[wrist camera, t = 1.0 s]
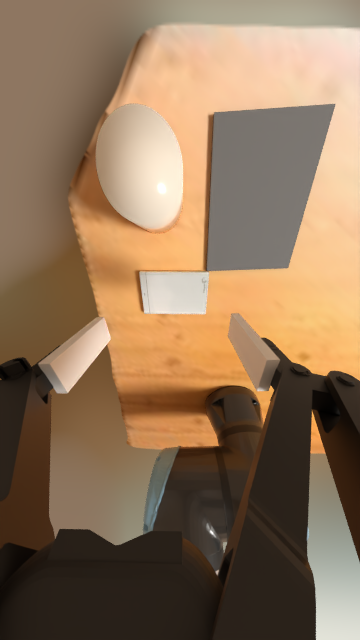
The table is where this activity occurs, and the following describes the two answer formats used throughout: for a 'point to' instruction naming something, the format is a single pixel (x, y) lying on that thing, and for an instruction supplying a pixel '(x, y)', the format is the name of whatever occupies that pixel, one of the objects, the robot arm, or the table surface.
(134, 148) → the cream rounded cylinder
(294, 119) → the mat
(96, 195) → the table surface
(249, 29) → the table surface
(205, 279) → the hard drive
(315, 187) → the table surface
